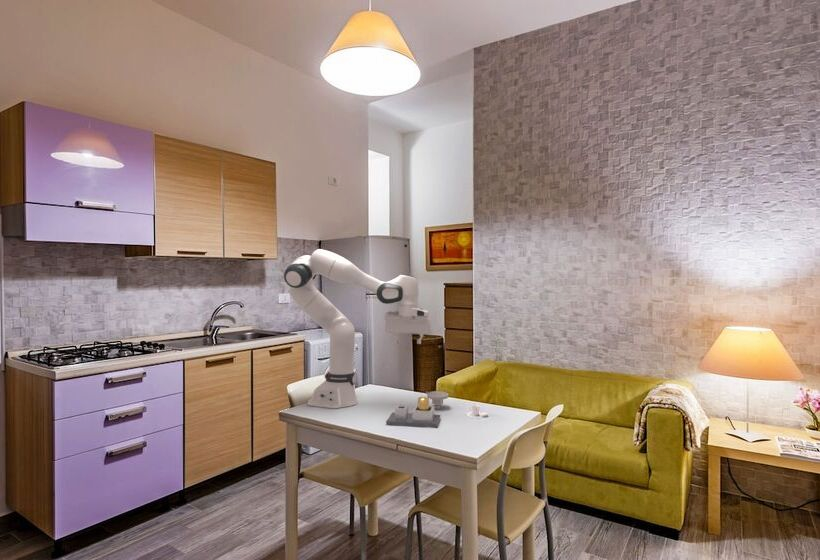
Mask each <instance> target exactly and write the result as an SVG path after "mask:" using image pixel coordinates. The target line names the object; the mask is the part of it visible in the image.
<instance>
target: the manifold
mask: <svg viewBox="0 0 820 560" xmlns="http://www.w3.org/2000/svg"><path fill="white" fill-rule="evenodd" d="M435 409H436V408H435V405H429V411H423V410H418V404H416V405H414V407H413V409H412V413H409V406H408V405H396V407H395V409H394V412H391V413H390V415H389V416H388V418H387V419H386V420H385V426H398V427H415V428H430V429H432V428H433V429H435V428H437V429H438V426H439V425H440V424H439V423H440V420H441V414H435V411H436V410H435Z"/></svg>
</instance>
